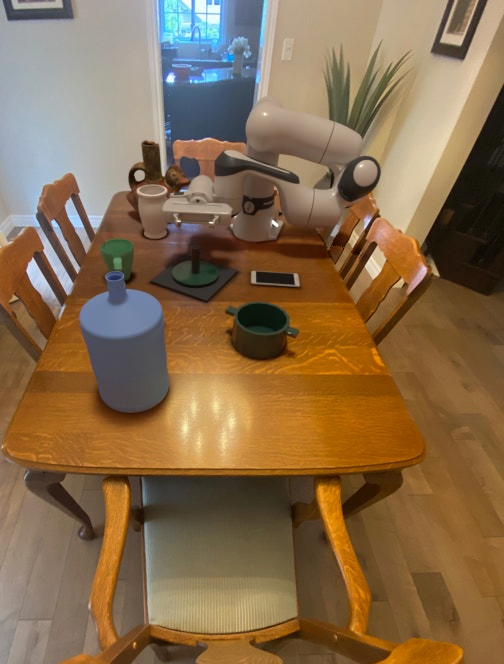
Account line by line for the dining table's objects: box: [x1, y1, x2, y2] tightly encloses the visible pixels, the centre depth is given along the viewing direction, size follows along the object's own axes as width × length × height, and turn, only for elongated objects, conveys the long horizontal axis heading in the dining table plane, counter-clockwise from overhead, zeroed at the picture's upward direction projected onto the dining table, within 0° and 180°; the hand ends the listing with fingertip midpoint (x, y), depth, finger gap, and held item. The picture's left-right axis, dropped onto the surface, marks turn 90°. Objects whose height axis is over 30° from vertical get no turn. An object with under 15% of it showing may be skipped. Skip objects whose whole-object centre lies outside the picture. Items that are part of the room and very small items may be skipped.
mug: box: [99, 238, 135, 282], centre depth 109 cm, size 15×10×10 cm
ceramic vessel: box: [125, 139, 192, 213], centre depth 134 cm, size 17×26×25 cm, turn 77°
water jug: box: [78, 271, 170, 414], centre depth 72 cm, size 16×16×28 cm
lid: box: [172, 244, 219, 286], centre depth 111 cm, size 15×15×9 cm
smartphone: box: [250, 270, 301, 288], centre depth 114 cm, size 8×1×15 cm
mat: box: [150, 253, 239, 303], centre depth 114 cm, size 20×20×1 cm
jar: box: [137, 185, 168, 240], centre depth 128 cm, size 11×10×15 cm
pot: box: [224, 300, 301, 360], centre depth 92 cm, size 14×19×8 cm
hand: (194, 225), depth 102 cm, fingers open, 8 cm apart
